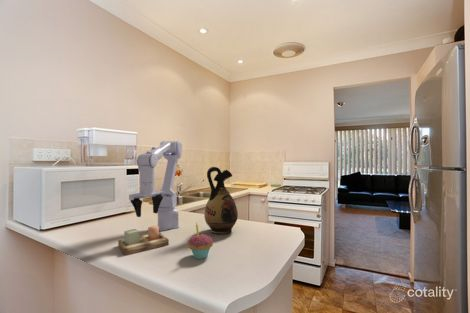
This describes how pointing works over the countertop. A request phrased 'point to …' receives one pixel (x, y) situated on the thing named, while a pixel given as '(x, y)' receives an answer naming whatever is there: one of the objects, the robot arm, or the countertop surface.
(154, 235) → the terracotta dowel
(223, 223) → the ceramic jug
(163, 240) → the pocket board
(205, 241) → the cupcake
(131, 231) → the sage cube
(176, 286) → the countertop surface
